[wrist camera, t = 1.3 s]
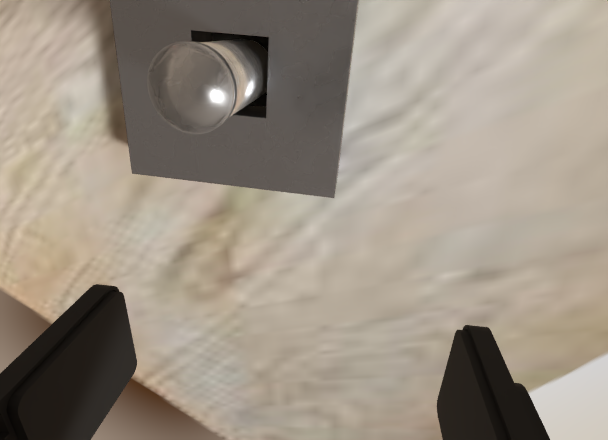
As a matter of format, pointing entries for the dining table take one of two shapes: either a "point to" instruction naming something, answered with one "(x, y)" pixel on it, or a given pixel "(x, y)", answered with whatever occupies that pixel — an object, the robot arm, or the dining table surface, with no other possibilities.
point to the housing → (251, 119)
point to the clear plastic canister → (206, 82)
